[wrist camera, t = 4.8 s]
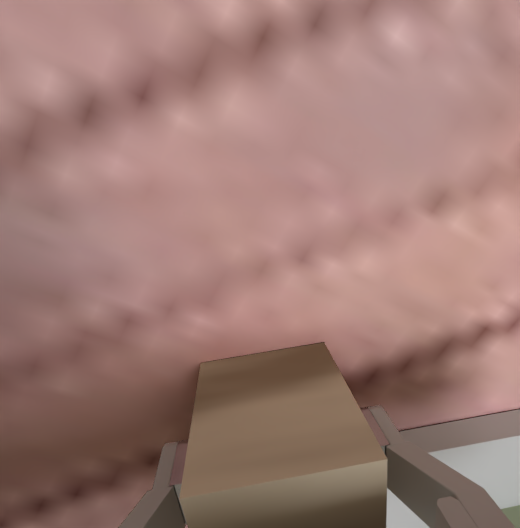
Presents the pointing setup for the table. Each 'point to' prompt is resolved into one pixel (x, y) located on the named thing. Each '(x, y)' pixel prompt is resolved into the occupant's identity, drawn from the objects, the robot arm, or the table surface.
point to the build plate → (470, 461)
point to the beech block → (281, 446)
